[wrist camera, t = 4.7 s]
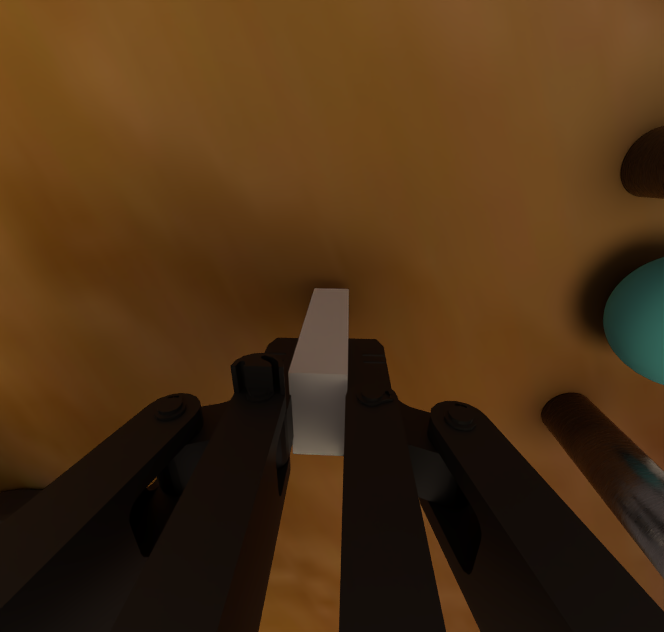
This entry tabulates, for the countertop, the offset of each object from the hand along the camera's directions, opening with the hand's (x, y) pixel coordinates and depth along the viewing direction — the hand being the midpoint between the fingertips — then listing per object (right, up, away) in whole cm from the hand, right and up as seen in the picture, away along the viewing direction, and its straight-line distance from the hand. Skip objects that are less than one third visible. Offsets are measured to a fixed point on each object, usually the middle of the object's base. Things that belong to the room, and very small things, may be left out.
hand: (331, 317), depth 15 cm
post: (+13, -5, +4) cm, 15 cm away
